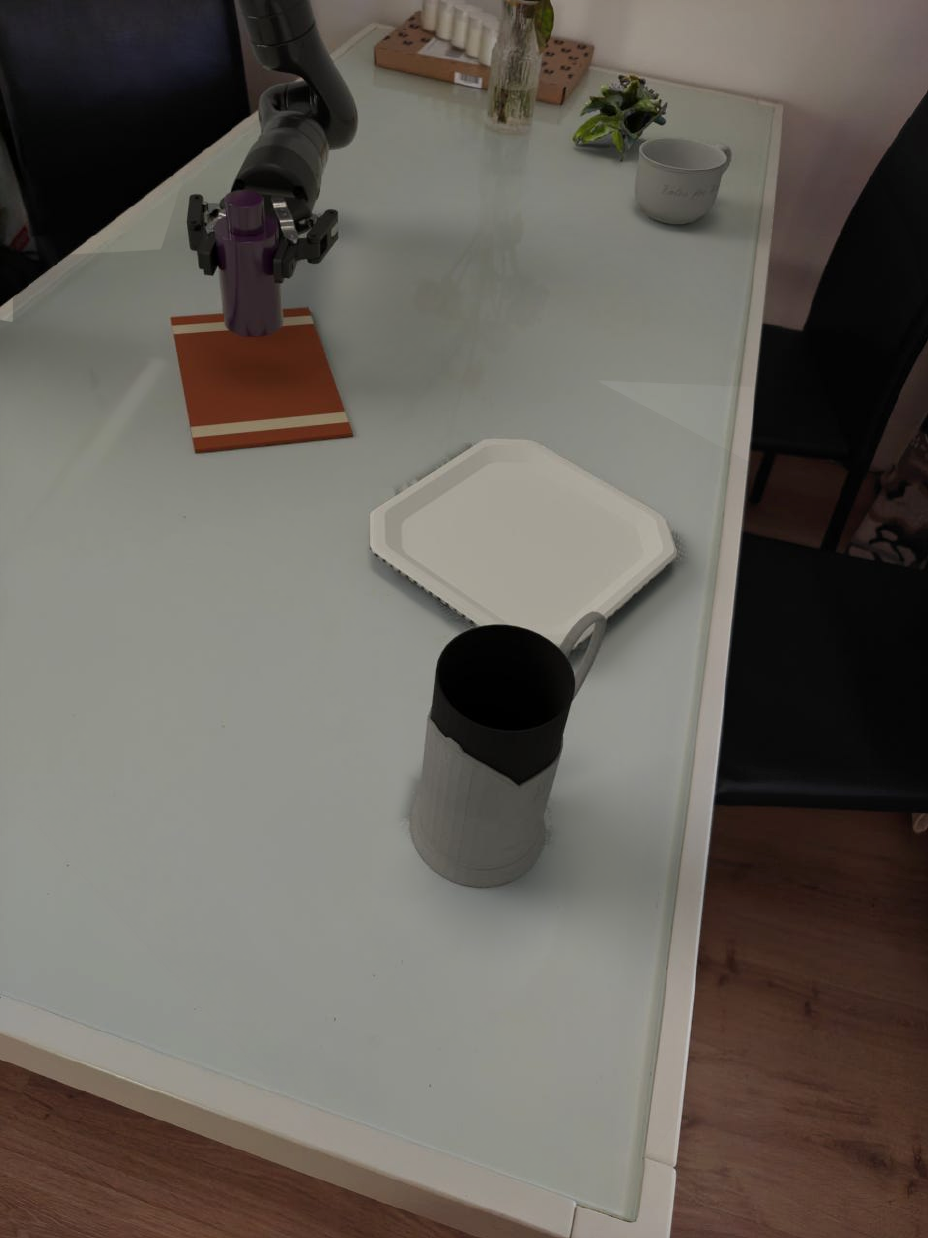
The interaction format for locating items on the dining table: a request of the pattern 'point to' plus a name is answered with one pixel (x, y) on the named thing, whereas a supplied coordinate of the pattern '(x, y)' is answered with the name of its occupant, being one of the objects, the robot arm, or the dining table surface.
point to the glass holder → (495, 749)
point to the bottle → (248, 266)
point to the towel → (257, 384)
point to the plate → (521, 539)
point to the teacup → (679, 178)
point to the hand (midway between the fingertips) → (242, 268)
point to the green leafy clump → (621, 113)
